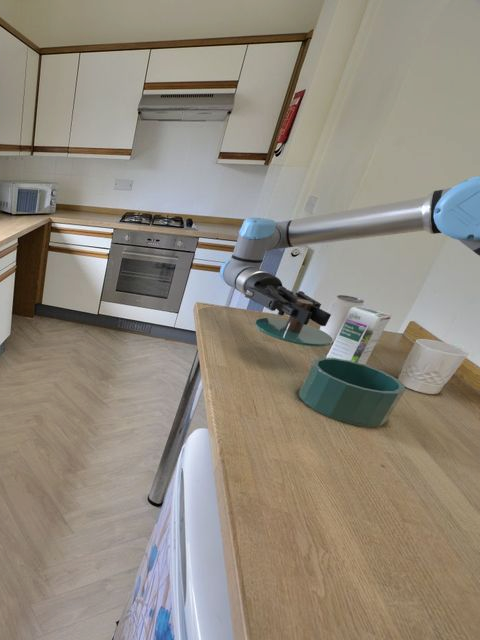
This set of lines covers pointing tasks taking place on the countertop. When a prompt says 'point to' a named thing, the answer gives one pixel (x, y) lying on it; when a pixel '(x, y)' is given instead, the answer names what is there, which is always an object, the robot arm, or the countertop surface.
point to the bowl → (351, 392)
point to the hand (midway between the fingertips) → (317, 319)
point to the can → (339, 314)
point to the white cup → (430, 365)
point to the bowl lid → (294, 329)
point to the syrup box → (359, 334)
